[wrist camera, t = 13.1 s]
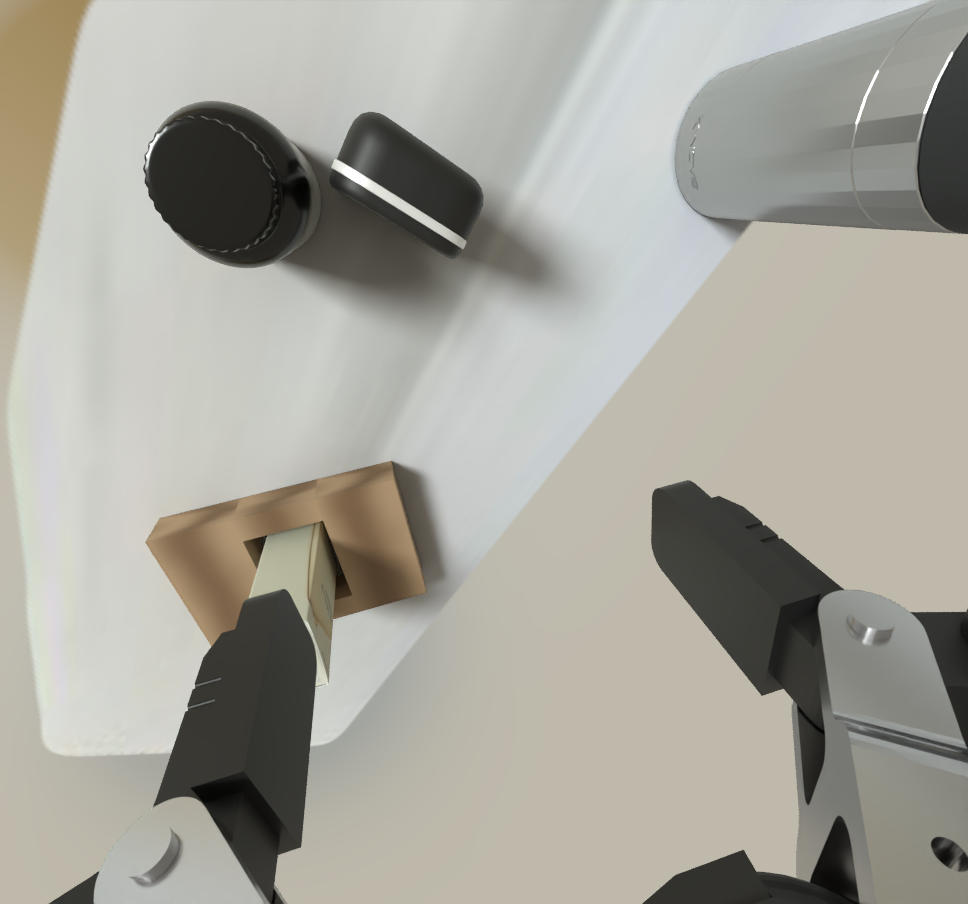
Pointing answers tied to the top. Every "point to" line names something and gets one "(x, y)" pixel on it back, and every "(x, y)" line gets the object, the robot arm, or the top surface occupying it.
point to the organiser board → (239, 523)
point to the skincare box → (303, 582)
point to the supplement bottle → (231, 185)
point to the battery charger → (407, 183)
